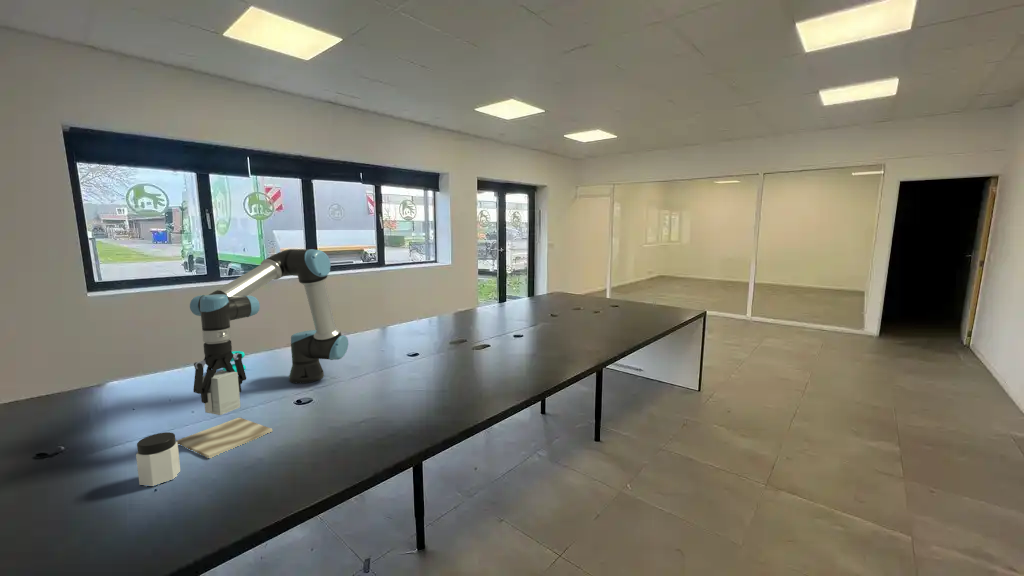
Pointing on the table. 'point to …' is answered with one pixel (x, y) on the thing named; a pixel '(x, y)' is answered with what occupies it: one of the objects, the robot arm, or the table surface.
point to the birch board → (224, 437)
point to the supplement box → (224, 392)
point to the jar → (157, 459)
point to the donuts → (233, 360)
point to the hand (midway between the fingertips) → (222, 406)
